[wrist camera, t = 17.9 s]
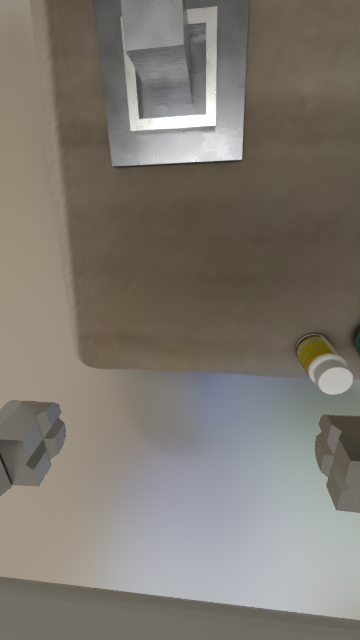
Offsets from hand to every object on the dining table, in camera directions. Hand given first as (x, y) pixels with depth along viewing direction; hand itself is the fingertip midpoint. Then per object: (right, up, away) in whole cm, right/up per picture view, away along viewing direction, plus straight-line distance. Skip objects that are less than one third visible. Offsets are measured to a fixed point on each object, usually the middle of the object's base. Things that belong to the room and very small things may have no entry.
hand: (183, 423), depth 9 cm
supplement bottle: (+19, -1, +32) cm, 38 cm away
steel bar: (-1, +28, +20) cm, 35 cm away
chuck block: (-1, +29, +21) cm, 36 cm away
